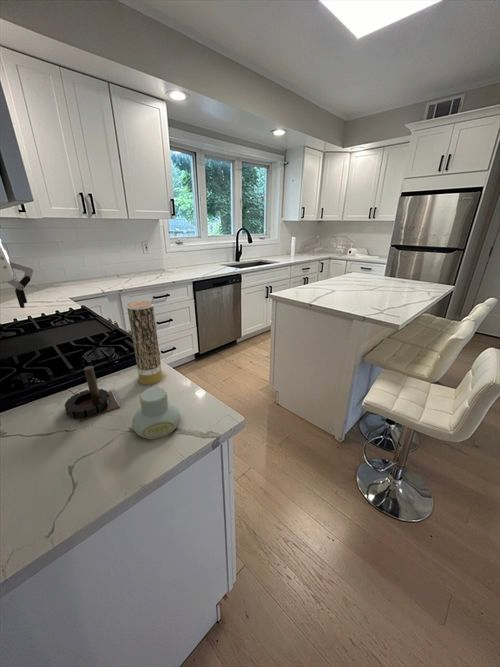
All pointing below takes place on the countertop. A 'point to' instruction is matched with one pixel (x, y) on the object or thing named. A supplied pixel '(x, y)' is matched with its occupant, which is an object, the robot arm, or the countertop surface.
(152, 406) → the air freshener
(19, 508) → the countertop surface
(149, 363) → the patterned tall cylinder
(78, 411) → the ring
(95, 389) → the holder
